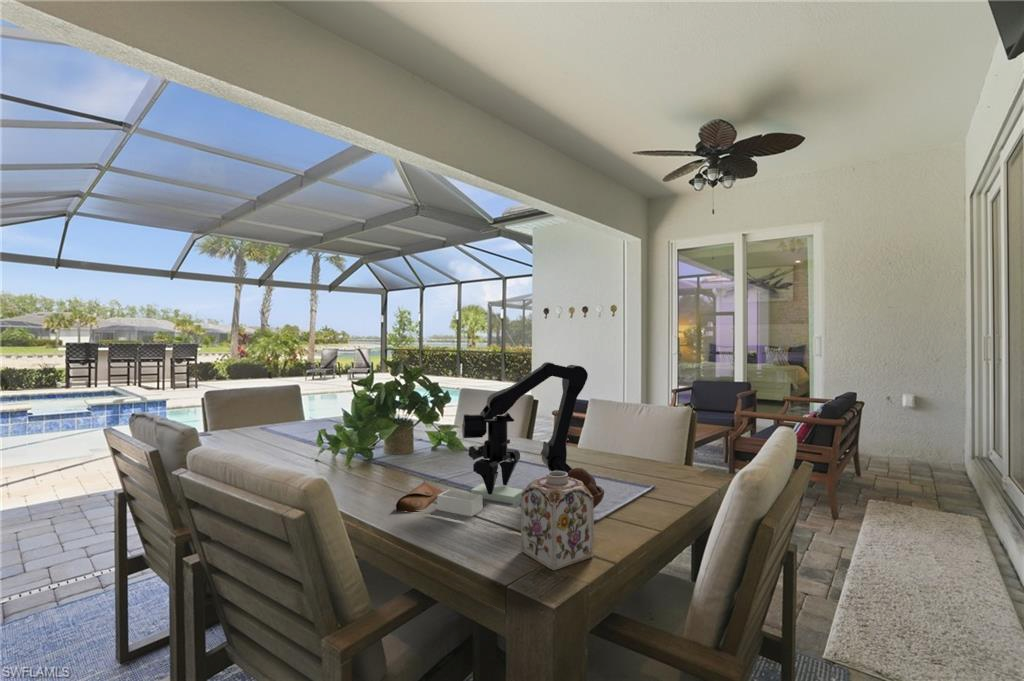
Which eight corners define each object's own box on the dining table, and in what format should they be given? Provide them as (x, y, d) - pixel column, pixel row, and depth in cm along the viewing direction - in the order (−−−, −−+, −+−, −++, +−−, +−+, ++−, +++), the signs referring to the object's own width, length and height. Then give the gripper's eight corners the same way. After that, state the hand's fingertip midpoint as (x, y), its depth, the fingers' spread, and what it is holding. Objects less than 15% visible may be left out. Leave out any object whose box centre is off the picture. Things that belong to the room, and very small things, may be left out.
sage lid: (523, 496, 143) (523, 489, 143) (513, 503, 137) (513, 496, 137) (482, 489, 150) (482, 483, 150) (471, 496, 144) (471, 489, 144)
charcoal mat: (533, 497, 145) (533, 495, 145) (515, 510, 134) (515, 507, 134) (481, 488, 153) (481, 486, 153) (460, 500, 142) (460, 497, 142)
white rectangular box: (482, 511, 133) (482, 495, 133) (471, 518, 128) (471, 501, 128) (448, 505, 138) (448, 489, 138) (437, 511, 133) (437, 495, 133)
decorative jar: (595, 557, 106) (595, 475, 106) (554, 573, 99) (554, 484, 99) (558, 538, 116) (559, 463, 115) (519, 551, 109) (519, 471, 109)
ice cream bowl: (604, 537, 116) (604, 474, 116) (557, 533, 118) (557, 472, 118) (604, 520, 127) (604, 463, 126) (561, 517, 129) (561, 460, 129)
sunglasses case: (424, 513, 131) (412, 491, 132) (403, 524, 133) (392, 502, 133) (447, 492, 149) (437, 473, 150) (429, 502, 150) (418, 483, 151)
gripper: (489, 428, 155) (489, 477, 155) (457, 440, 139) (457, 494, 139) (520, 432, 150) (520, 482, 150) (491, 444, 134) (491, 501, 134)
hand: (497, 489), depth 144 cm, fingers open, 9 cm apart
